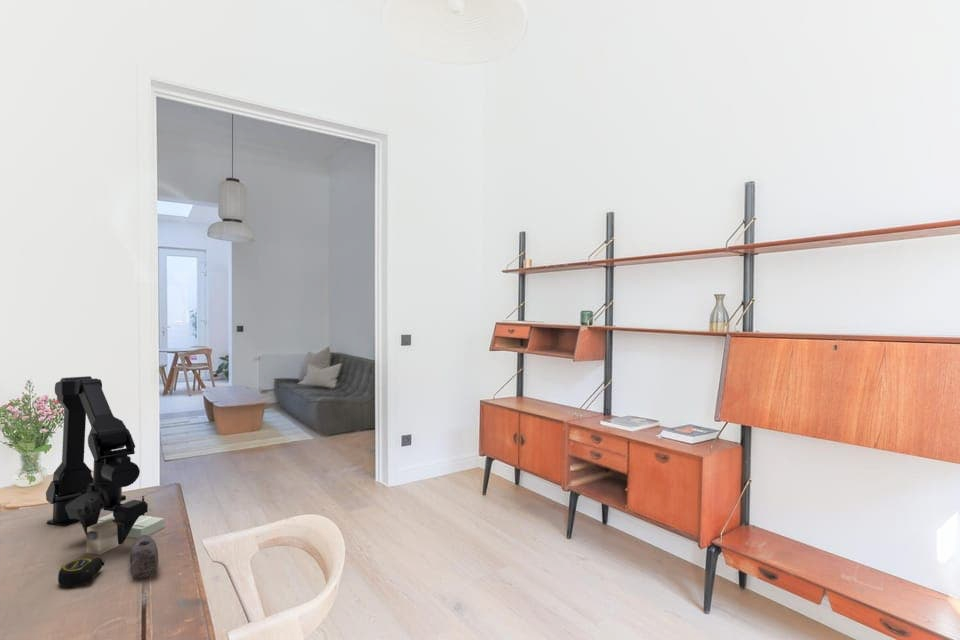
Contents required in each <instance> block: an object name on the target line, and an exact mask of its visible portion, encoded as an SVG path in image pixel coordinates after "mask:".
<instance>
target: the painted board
mask: <svg viewBox="0 0 960 640" xmlns="http://www.w3.org/2000/svg"><path fill="white" fill-rule="evenodd" d="M109 518H114V516H113V512H112V513H108V514H106V515H105V516H101V517H99V519H98V523H99V522H102V521H104V520H107V519H109ZM162 529H165V518H163V517H156V516H150V515H149V516H148V515H144V514H143V515H142V516H139V517H138V519H137V520H136V522H135V523H134V525H133V527H132V528H131V530H130V532H129V534H128V536H127V537H126V538H132V539H137V538H138V537H140V536H142V535H148V536H150V535H152V534H154V533H156V532H158V531H160V530H162Z"/></svg>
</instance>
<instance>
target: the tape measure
mask: <svg viewBox="0 0 960 640" xmlns="http://www.w3.org/2000/svg"><path fill="white" fill-rule="evenodd" d="M105 562H106V561H105V560H103V558H102V557H95V558H89V557H88V558H87V557H86V558H79V559H76V560H75V559H74V560H72V561H69V562H67V563H65V564H63V565H62V566H61V568H59V570H58V573H57V574H58V575H57V581H58V585H59V586H61V587H70V588H71V587H77V586H79V585H80V586H81V585H85V584H89V583H91V582H92V581H93V579H94V577H95V576H96V575H97V574H98V573H99V572H100V571H101V569H102V567H103V566H105Z"/></svg>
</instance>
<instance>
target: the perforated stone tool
mask: <svg viewBox="0 0 960 640" xmlns="http://www.w3.org/2000/svg"><path fill="white" fill-rule="evenodd" d="M128 560H129V565H130V568H129V569H130V573H131V575H132V576H133V577H134V578H136V579H138V578H139V579H142V578H149V577H152V576H153V575H154V574H155V573H156V572H157V569H158V566H159V552H158V546H157V543H156V541H155V540H154V539H153V537H152V536H150V535H142V536H140V537H138V538H135V540H134V542H133V543H132V545H131V547H130V549H129V559H128Z"/></svg>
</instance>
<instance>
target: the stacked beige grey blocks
mask: <svg viewBox="0 0 960 640" xmlns="http://www.w3.org/2000/svg"><path fill="white" fill-rule="evenodd" d="M114 519H115V518H109V519H107V520H104V521H102V522H99V523H97V524H95V525H92V526H90V527H87V536H86V551H85V552H86V553H88V554H96V555H102V554H104V553H106V552H108V551H110V550H112V549H115V548H117V547H118V546H121V545H123V544H124V543H122V544H118V535H117V524H116V523H114V522H113V521H112V520H114Z"/></svg>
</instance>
